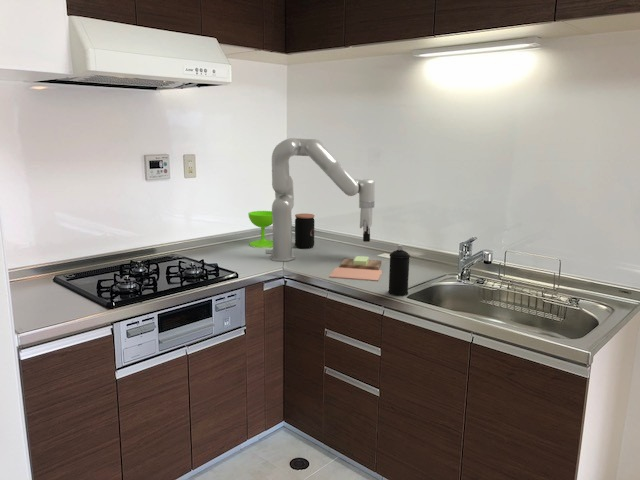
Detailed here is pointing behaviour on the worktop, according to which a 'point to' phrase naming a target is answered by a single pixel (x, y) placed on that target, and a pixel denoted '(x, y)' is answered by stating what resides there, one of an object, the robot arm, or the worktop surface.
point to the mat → (356, 274)
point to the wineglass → (262, 221)
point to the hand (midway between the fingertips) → (366, 241)
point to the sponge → (360, 260)
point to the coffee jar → (304, 231)
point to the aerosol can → (399, 272)
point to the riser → (370, 265)
